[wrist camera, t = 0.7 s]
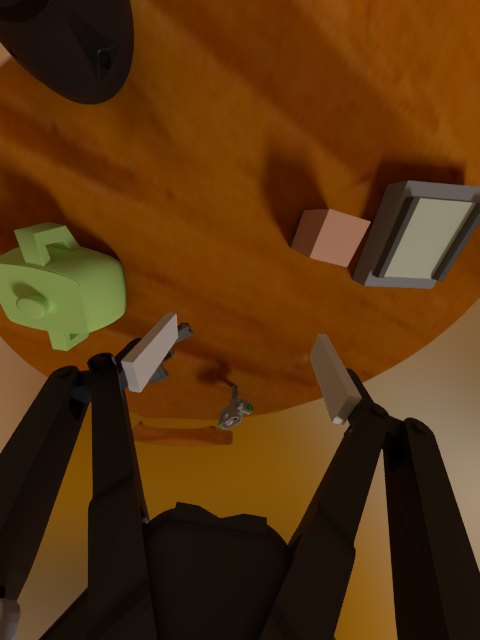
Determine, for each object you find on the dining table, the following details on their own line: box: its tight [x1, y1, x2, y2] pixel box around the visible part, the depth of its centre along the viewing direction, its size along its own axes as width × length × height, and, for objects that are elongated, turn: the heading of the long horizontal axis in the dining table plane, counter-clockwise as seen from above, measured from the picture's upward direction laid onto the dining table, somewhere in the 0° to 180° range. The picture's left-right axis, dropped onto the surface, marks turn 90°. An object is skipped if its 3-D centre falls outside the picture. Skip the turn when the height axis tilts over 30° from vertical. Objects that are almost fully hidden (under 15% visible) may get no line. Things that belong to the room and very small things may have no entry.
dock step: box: [352, 180, 480, 289], centre depth 32 cm, size 16×14×6 cm
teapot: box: [0, 222, 126, 351], centre depth 29 cm, size 18×20×13 cm
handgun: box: [149, 324, 193, 383], centre depth 45 cm, size 18×2×12 cm
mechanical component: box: [218, 385, 253, 430], centre depth 48 cm, size 3×10×10 cm, turn 132°
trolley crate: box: [289, 209, 370, 267], centre depth 29 cm, size 6×6×10 cm
